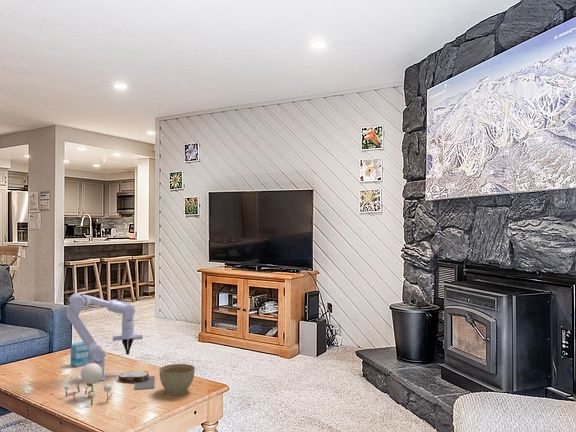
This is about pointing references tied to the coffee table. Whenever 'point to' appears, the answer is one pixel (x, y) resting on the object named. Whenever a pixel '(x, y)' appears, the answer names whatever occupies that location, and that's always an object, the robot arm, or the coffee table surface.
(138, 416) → the coffee table surface
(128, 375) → the tin
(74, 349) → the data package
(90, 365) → the figurines
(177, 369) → the planter bowl
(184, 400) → the coffee table surface
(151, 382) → the mat
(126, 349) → the robot arm
